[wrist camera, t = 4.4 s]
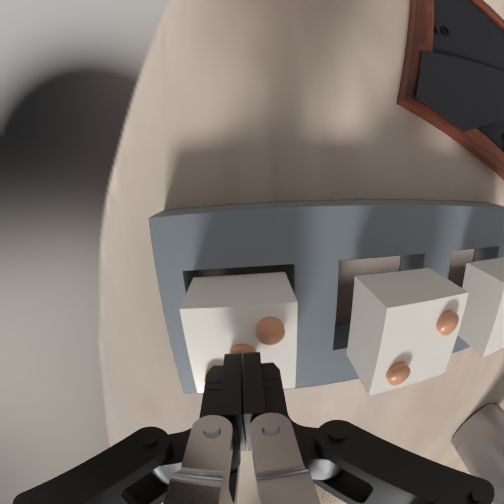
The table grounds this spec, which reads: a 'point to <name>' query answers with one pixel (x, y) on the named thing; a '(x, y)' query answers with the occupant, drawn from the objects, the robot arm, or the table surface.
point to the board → (313, 259)
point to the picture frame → (457, 74)
